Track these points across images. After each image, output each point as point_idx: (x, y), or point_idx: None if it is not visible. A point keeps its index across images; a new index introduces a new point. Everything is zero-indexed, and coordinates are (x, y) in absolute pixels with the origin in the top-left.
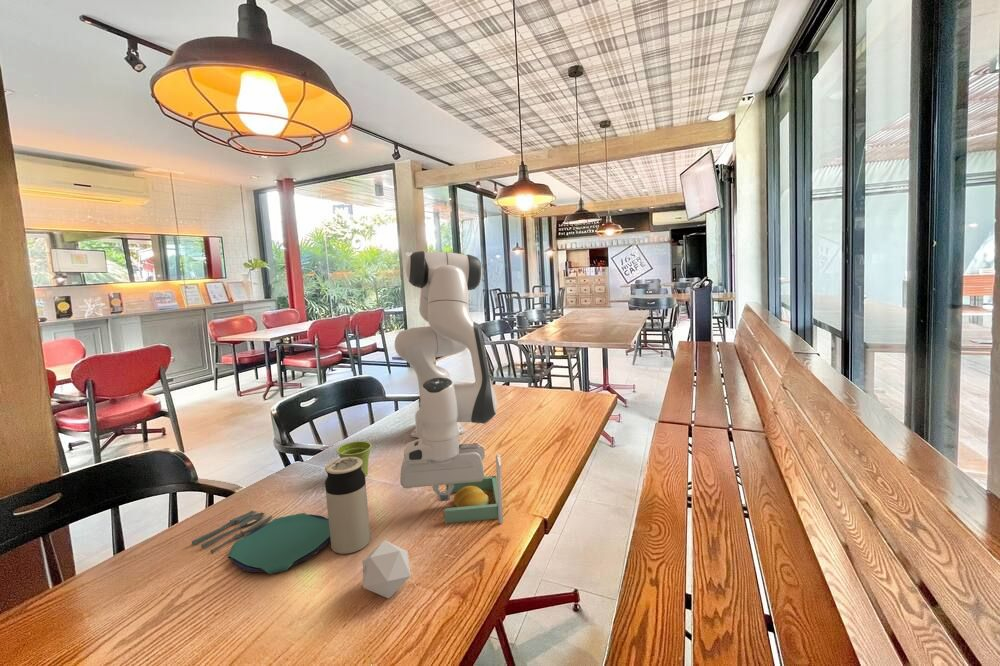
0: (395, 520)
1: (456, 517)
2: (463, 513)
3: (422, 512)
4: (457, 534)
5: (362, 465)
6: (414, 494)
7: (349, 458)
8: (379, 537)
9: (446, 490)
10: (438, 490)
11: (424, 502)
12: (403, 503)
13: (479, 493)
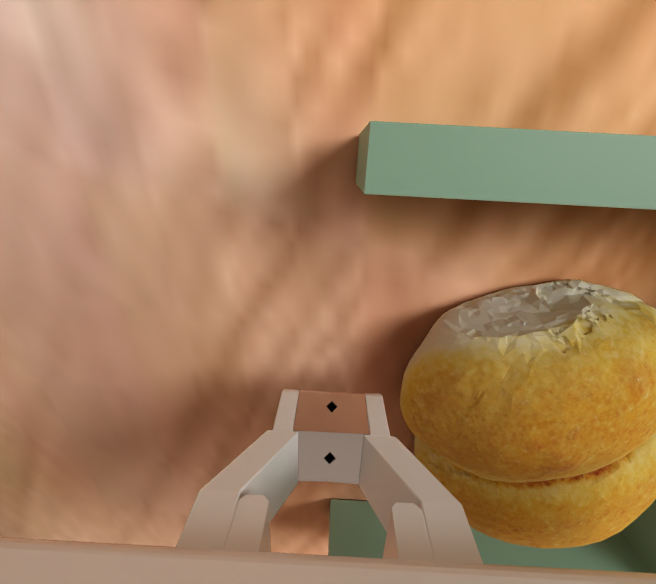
0: (51, 447)
1: None
2: None
3: (190, 410)
4: None
5: None
6: (46, 136)
7: None
8: (35, 538)
9: (357, 184)
10: (272, 494)
11: (177, 298)
12: (12, 277)
13: (639, 494)
